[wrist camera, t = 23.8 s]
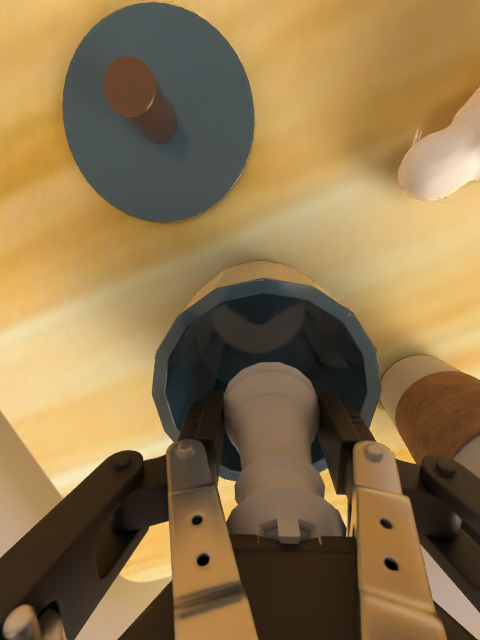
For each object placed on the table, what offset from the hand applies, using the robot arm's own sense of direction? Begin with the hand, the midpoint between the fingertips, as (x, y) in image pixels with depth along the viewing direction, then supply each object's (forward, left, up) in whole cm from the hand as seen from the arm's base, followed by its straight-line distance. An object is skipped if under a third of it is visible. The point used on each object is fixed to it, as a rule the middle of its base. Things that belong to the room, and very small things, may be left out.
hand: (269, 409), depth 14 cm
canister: (0, 0, -11) cm, 11 cm away
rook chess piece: (0, 0, -1) cm, 1 cm away
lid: (-16, +3, -10) cm, 19 cm away
